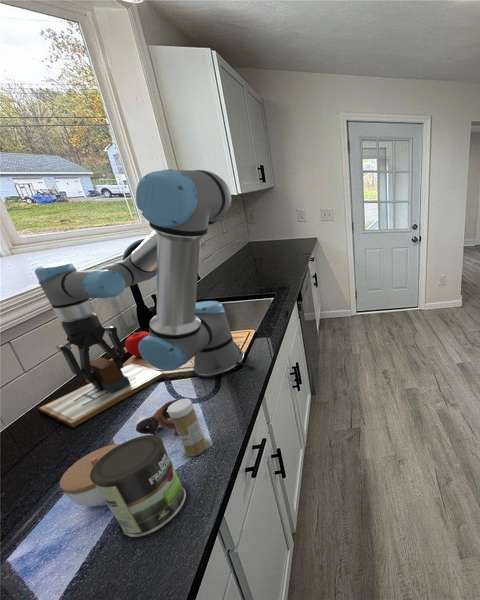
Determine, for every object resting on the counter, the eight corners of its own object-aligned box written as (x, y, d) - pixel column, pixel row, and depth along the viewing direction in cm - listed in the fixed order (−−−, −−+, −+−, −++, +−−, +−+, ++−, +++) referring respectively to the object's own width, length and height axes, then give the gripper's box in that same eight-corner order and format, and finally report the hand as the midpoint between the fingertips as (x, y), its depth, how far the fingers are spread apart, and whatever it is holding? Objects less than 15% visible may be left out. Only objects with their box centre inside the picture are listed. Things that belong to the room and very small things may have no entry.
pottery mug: (185, 410, 88) (189, 391, 85) (197, 437, 84) (202, 418, 81) (130, 427, 79) (133, 407, 75) (141, 459, 75) (144, 438, 71)
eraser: (130, 383, 98) (120, 361, 95) (111, 393, 94) (100, 371, 91) (111, 376, 103) (101, 355, 100) (92, 385, 99) (81, 363, 95)
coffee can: (194, 480, 67) (172, 429, 62) (172, 529, 58) (144, 475, 52) (140, 491, 65) (113, 440, 60) (109, 544, 56) (73, 489, 50)
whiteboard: (164, 376, 104) (163, 372, 104) (73, 427, 84) (70, 423, 83) (132, 366, 111) (131, 362, 110) (41, 411, 91) (38, 407, 90)
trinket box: (105, 522, 60) (83, 488, 56) (63, 512, 62) (39, 479, 58) (156, 472, 69) (140, 440, 66) (118, 466, 71) (100, 435, 68)
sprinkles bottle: (181, 454, 73) (161, 409, 68) (199, 439, 77) (181, 396, 72) (195, 459, 72) (175, 413, 67) (212, 444, 76) (195, 400, 71)
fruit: (128, 355, 119) (117, 331, 115) (156, 345, 125) (147, 322, 121) (133, 363, 113) (122, 339, 109) (163, 352, 119) (153, 329, 115)
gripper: (108, 303, 98) (135, 365, 107) (28, 328, 83) (68, 398, 92) (121, 306, 96) (148, 369, 104) (41, 333, 80) (81, 404, 89)
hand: (110, 383), depth 98 cm, fingers closed on eraser, 5 cm apart
